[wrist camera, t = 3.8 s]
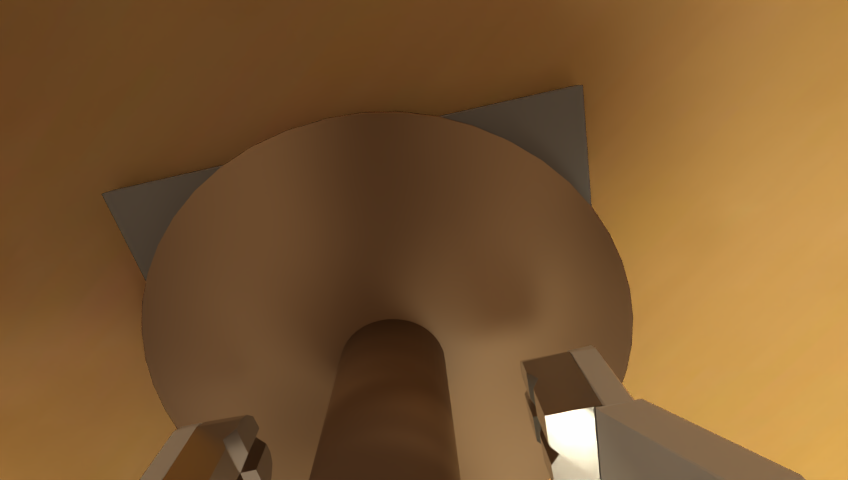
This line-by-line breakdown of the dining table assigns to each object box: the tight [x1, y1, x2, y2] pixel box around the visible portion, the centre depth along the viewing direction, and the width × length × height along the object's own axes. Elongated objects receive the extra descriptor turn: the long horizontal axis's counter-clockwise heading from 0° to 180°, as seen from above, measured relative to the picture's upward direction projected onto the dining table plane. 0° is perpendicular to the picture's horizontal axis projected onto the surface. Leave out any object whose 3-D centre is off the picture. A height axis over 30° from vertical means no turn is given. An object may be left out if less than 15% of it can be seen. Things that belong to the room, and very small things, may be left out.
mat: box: [102, 85, 591, 280], centre depth 11 cm, size 11×11×1 cm
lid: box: [142, 112, 633, 480], centre depth 8 cm, size 12×12×5 cm
